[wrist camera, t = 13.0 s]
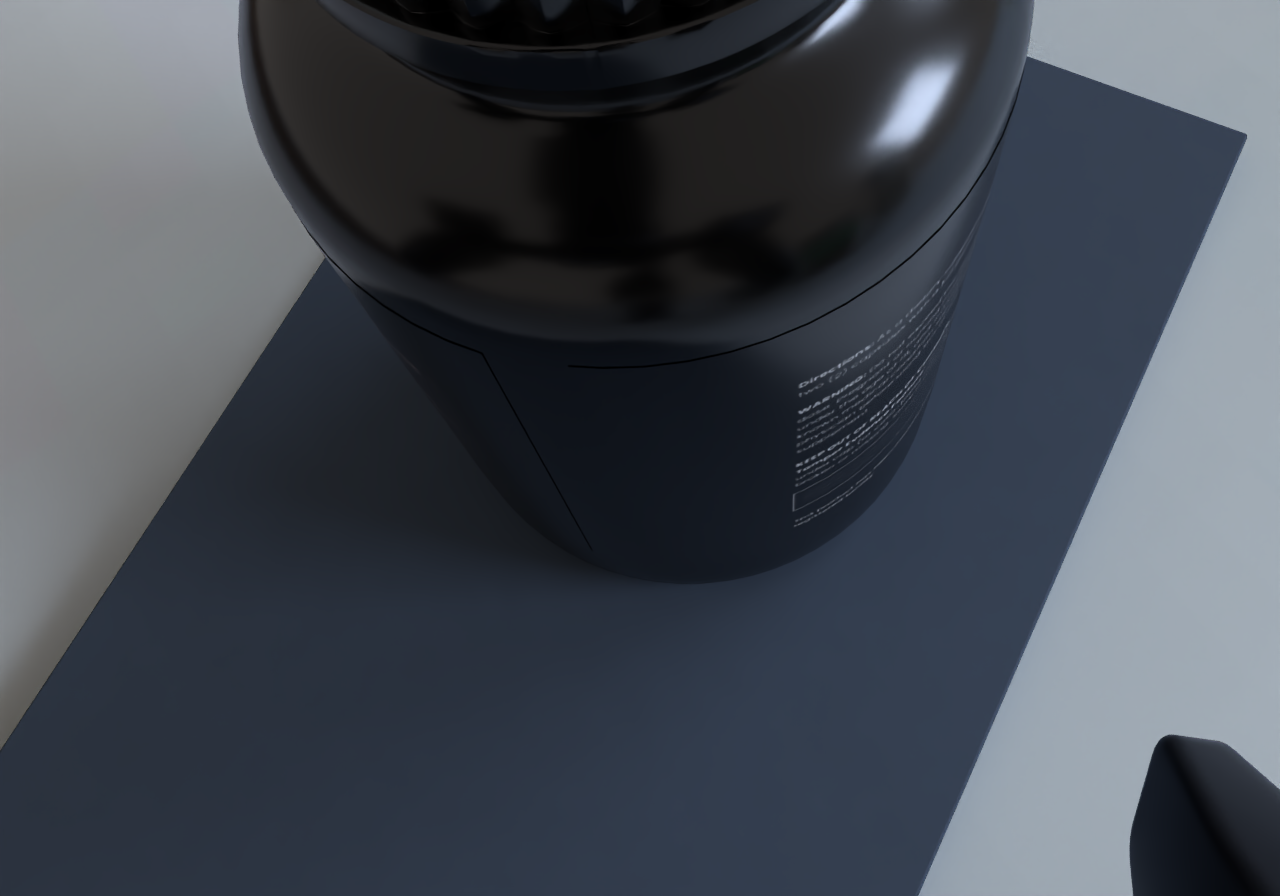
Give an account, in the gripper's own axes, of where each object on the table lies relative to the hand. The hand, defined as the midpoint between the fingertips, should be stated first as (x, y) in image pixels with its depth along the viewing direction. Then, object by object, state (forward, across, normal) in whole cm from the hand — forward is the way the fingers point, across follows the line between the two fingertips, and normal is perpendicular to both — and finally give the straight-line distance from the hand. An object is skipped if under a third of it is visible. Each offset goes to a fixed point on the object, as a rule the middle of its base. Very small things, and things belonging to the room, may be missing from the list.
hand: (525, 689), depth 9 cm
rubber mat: (+8, +1, +3) cm, 9 cm away
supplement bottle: (+10, 0, +1) cm, 10 cm away
